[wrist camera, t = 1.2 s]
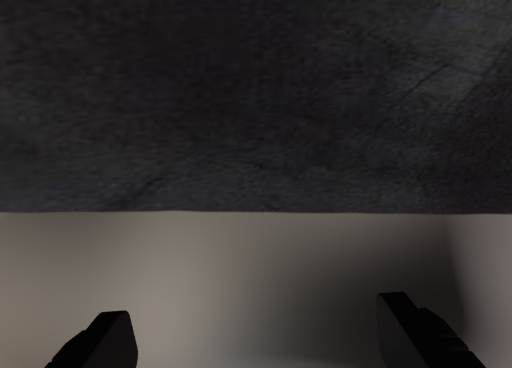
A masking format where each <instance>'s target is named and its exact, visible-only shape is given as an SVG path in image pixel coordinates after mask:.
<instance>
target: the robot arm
mask: <svg viewBox="0 0 512 368" xmlns="http://www.w3.org/2000/svg"><path fill="white" fill-rule="evenodd" d="M376 339H377V344H378V349H379V352H380V355H381V357H382V360H383V362H384V364H385V366H386V368H486V367H485V366H484V365H483V364H482V363H481V361H480V360H479V359H478V358H477V357H476V356H475V355H474V353H473V352H472V351H469V349H468V347H467V346H466V344H465V343H464V342H463V341H462V340H461V339H460V338H458V337H457V334H456V333H455V332H454V331H453V330H452V329H451V327H450V326H449V325H448V324H447V323H446V322H445V321H444V320H443V319H442V318H440V317H439V316H437V315H436V314H434V313H433V312H431V311H429V310H428V309H427V308H420V309H418V308H417V307H416V306H415V305H414V303H413V302H412V301H411V300H410V298H409V297H408V296H407V295H406V294H405V293H404V292H391V293H379V294H377V296H376ZM137 359H138V349H137V344H136V340H135V336H134V332H133V327H132V323H131V319H130V315H129V313H128V312H127V311H111V312H102V313H100V314H99V315H98V316H97V317H96V318H95V319H94V321H93V322H92V323H91V324H90V325H89V327H88V328H87V329H86V330H83V331H81V332H80V333H79V334H77V335H76V336H75V337H73V338H72V339H71V340H69V341H68V342H67V343H66V344H65V345H64V346H63V347H62V348H61V349H60V351H59V352H58V353H57V354H56V355H55V356H54V357H53V359H52V362H49V363H48V364H47V365H46V366H45V368H136V365H137Z"/></svg>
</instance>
